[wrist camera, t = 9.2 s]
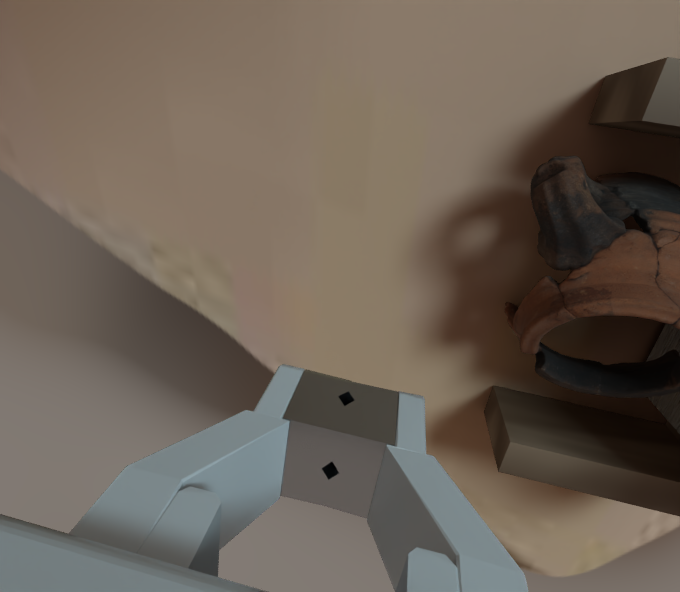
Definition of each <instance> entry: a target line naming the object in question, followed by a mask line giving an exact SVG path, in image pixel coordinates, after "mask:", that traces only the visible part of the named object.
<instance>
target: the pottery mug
mask: <svg viewBox="0 0 680 592" xmlns="http://www.w3.org/2000/svg"><path fill="white" fill-rule="evenodd" d="M531 200H532V205H533V209H534V211H535V214H536V217H537V219H538V222H539V225H540V228H541V231H539V233H538V246H537V249H538V252H539V254H540V255H541V256H542V257H543V258H544V259H545V261H546V263H547V264H548V265H549V266H550V267H552V268H553V269H556V270H562V271H563V270H569V269H571V270H572V271H571V273H570V274H569V275H568V277H567V278H566V279H565V280H563V281H562V282H561V283H557V281H555V280H554V279H553V278H552V277H550V276H545V277H543V278H542V279H541V280H540V281H539V282H538V283H537V284H536V285H535V286H534V288H533V289H532V290H531V291H530V293H528V294H527V295H526V296H525V297H524V299H523V300H522V303H521V305H520V306H519V308H518V307H517V306H515V305H514V304H512V303H510V302H507V303H506V304H505V306H506V308H505V313H506V315H507V321H508V324H509V325H510V327H511V328H512V329H513V331H514V332H515V334H516V335H517V337H518V339H519V340H520V350H521V352H522V353H528V354H535V355H536V364H535V371H536V373H537V374H538V375H539V376H541V377H543V378H545V379H546V380H548V381H550V382H552V383H555V384H557V385H559V386H562V387H564V388H568V389H571V390H575V391H578V392H582V393H589V394H599V395H602V396H609V397H616V398H624V397H632V398H641V397H652V396H662V395H667V394H672V393H676V392H680V356H679V352H678V351H677V350H674V349H673V350H671V351H668V352H667V353H665V354H664V355H663V356H661V357H659V358H657V359H654V360H650V361H647V362H643V363H618V364H611V365H603V364H602V363H600V362H597V361H591V360H584V359H578V358H573V357H569V356H565V355H562V354H560V353H558V352H556V351H554V350H552V349H550V348H549V347H547V346H545V345H544V344H543V343H541V342H540V341H541V339H542V337H543V336H544V335H545V334H546V333H547V332H549V331H550V330H552V329H553V328H555V327H557V326H559V325H562V324H564V323H567V322H569V321H571V320H574V319H576V318H583V317H591V316H633V317H641V318H647V319H652V320H656V321H659V322H663V323H666V324H671V325H673V326H674V327H676V328H678V329H680V187H679V186H677V185H676V184H674V183H672V182H670V181H668V180H666V179H663V178H660V177H656V176H652V175H648V174H642V173H618V174H609V175H603V176H599V177H597V180H596V182H595V181H593V180H591V179H590V178H589V177H588V176H587V174H586V172H585V168H584V165H583V164H582V162H581V160H580V158H579V157H577V156H569V157H562V156H558V157H553V158H552V159H550V160H549V161H548V162H547V163H545V164H542V165H541V166H539V167H538V169H537V171H536V174H535V175H534V177H533V178H532V181H531ZM629 216H631V217H633V218H634V219H635V221H636V222H637V223H638V224H639V226H640V228H642V230H643V232H644V233H643V232H641V231H638V230H635V229H630V230H628V229H625V224H624V222H623V221H622V220H624V219H626V218H628V217H629Z"/></svg>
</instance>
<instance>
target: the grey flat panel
mask: <svg viewBox="0 0 680 592" xmlns="http://www.w3.org/2000/svg"><path fill="white" fill-rule="evenodd" d="M673 349H674V350H677V351H678V352H679V356H680V329H678V328H676V327H674V326H673V325H671V324H666V325H665V326H664V328H663V330H662V332H661V334H660V336H659V338H658V340H657V342H656V344H655V346H654V347H653V349H652V351H651V353H650V355H649V357H648V359H647V361H650V360H654V359H657V358H659V357H661V356H663V355H664V354H665V353H667V352H668V351H671V350H673ZM647 361H646V362H647ZM648 398H649V399H650V401H651V402H652V403H653V404H654V405H655V406H656V407H657V409H658V410H659V411H660V412H661V413H662V414H663V415H664V417H665V418H666V419H667V420H668V421H669V422H670V423H671V425H672V426H673V427H674V428H675V429H676V430H677V432H678V433H679V434H680V392H676V393H672V394H667V395H662V396H652V397H648Z"/></svg>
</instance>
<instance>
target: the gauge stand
mask: <svg viewBox="0 0 680 592" xmlns="http://www.w3.org/2000/svg"><path fill="white" fill-rule="evenodd" d="M589 124H595V125H601V126H607V127H613V128H620V129H626V130H632V131H639V132H645V133H651V134H658V135H664V136H670V137H676V138H680V59H676V58H669V57H667V58H664V59H660V60H657V61H654V62H651V63H647V64H644V65H641V66H637V67H634V68H631V69H627V70H624V71H621V72H618V73H614V74H611V75H608V76H606V77H605V79H604V82H603V85H602V88H601V90H600V93H599V96H598V99H597V102H596V104H595V107H594V110H593V113H592V115H591V118H590V121H589ZM484 414H485V418H486V422H487V426H488V431H489V435H490V439H491V443H492V447H493V451H494V456H495V460H496V464H497V468H498V472H502V473H506V474H510V475H514V476H518V477H523V478H527V479H531V480H535V481H539V482H543V483H547V484H551V485H555V486H559V487H563V488H567V489H571V490H575V491H579V492H583V493H587V494H591V495H595V496H599V497H603V498H608V499H612V500H616V501H620V502H624V503H628V504H632V505H636V506H640V507H644V508H648V509H652V510H656V511H660V512H664V513H668V514H672V515H676V516H680V434H679V433H678V432H677V430H676V429H675V428H674V427H673V426H672V425H671V423H670V422H669V421H667V422H666V424H660V423H656V422H651V421H647V420H642V419H638V418H634V417H629V416H625V415H620V414H616V413H612V412H607V411H603V410H598V409H594V408H589V407H585V406H581V405H576V404H572V403H567V402H563V401H559V400H554V399H550V398H545V397H541V396H537V395H532V394H528V393H523V392H519V391H514V390H510V389H506V388H501V387H497V386H493V388H492V391H491V394H490V397H489V399H488V402H487V405H486V408H485V410H484Z"/></svg>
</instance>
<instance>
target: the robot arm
mask: <svg viewBox="0 0 680 592" xmlns="http://www.w3.org/2000/svg"><path fill="white" fill-rule="evenodd" d="M280 496H284V497H289V498H293V499H297V500H302V501H306V502H310V503H314V504H319V505H323V506H327V507H330V508H333V509H337V510H340V511H343V512H347V513H350V514H354V515H357V516H360V517H364V518H367V522H368V525H369V527H370V530H371V532H372V535H373V537H374V540H375V542H376V545H377V547H378V550H379V552H380V555H381V558H382V560H383V563H384V565H385V568H386V570H387V572H388V575H389V578H390V580H391V583H392V585H393V588H394V590H395V592H528V588H527V583H526V579H525V574H524V573H523V572H522V570H521V569H520V568H519V566H518V565H517V564H516V562H515V561H514V560H513V559H512V557H511V556H510V555H509V553H508V552H507V551H506V549H505V548H504V547H503V545H502V544H501V543H500V542H499V540H498V539H497V538H496V536H495V535H494V534H493V532H492V531H491V530H490V529H489V527H488V526H487V525H486V523H485V522H484V521H483V519H482V518H481V517H480V516H479V514H478V513H477V512H476V510H475V509H474V508H473V506H472V505H471V504H470V503H469V501H468V500H467V499H466V497H465V496H464V495H463V493H462V492H461V491H460V490H459V488H458V487H457V486H456V484H455V483H454V482H453V480H452V479H451V478H450V477H449V475H448V474H447V473H446V471H445V470H444V469H443V467H442V466H441V465H440V464H439V462H438V461H437V460H436V458H435V457H434V456H431V455H427V454H426V430H425V399H424V397H423V396H420V395H415V394H410V393H405V392H400V391H399V392H397V391H393V390H388V389H383V388H379V387H374V386H370V385H365V384H361V383H356V382H352V381H350V380H346V379H342V378H338V377H334V376H330V375H326V374H322V373H318V372H315V371H311V370H307V369H306V370H305V369H303V368H298V367H294V366H290V365H285V364H282V365H281V366H279V367H278V369H277V371H276V372H275V374H274V376H273V378H272V379H271V381H270V383H269V385H268V386H267V388H266V390H265V392H264V393H263V395H262V397H261V399H260V400H259V402H258V404H257V406H256V407H255V409H254V411H253V412H252V411H248V410H245V411H243V412H241V413H239V414H237V415H234V416H232V417H230V418H228V419H226V420H224V421H222V422H219V423H217V424H215V425H213V426H211V427H209V428H207V429H205V430H203V431H200V432H198V433H196V434H194V435H192V436H190V437H187V438H185V439H183V440H181V441H179V442H177V443H175V444H173V445H170V446H168V447H166V448H164V449H162V450H160V451H158V452H156V453H153V454H151V455H149V456H147V457H145V458H143V459H141V460H139V461H137V462H134V463H132V464H130V465H128V466H126V467H125V469H123V471H122V472H121V473H120V474H119V475H118V476H117V478H116V479H115V480H114V481H113V482H112V483H111V485H110V486H109V487H108V488H107V489H106V491H105V492H104V493H103V494H102V495H101V496H100V498H99V499H98V500H97V501H96V502H95V503H94V505H93V506H92V507H91V508H90V509H89V511H88V512H87V513H86V514H85V515H84V516H83V517H82V519H81V520H80V521H79V522H78V524H77V525H76V526H75V527H74V528H73V529H72V530H71V532H70V533H69V534H67V533H64V532H60V531H57V530H53V529H50V528H46V527H43V526H40V525H36V524H32V523H29V522H25V521H22V520H19V519H15V518H12V517H8V516H5V515H2V514H0V592H267V591H263V590H260V589H257V588H253V587H249V586H246V585H243V584H239V583H236V582H233V581H229V580H226V579H222V578H219V577H218V563H219V561H218V560H219V550H220V549H221V548H222V547H224V546H225V545H226V544H227V543H228V542H229V541H230V540H232V539H233V538H234V537H235V536H236V535H238V534H239V533H240V532H241V531H242V530H243V529H244V528H246V527H247V526H248V525H249V524H250V523H252V522H253V521H254V520H255V519H256V518H257V517H259V515H261V514H262V513H263V512H264V511H265V510H267V509H268V508H269V507H270V506H271V505H272V504H274V503H275V502H276V501H277V500H278V499H279V498H280Z"/></svg>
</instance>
